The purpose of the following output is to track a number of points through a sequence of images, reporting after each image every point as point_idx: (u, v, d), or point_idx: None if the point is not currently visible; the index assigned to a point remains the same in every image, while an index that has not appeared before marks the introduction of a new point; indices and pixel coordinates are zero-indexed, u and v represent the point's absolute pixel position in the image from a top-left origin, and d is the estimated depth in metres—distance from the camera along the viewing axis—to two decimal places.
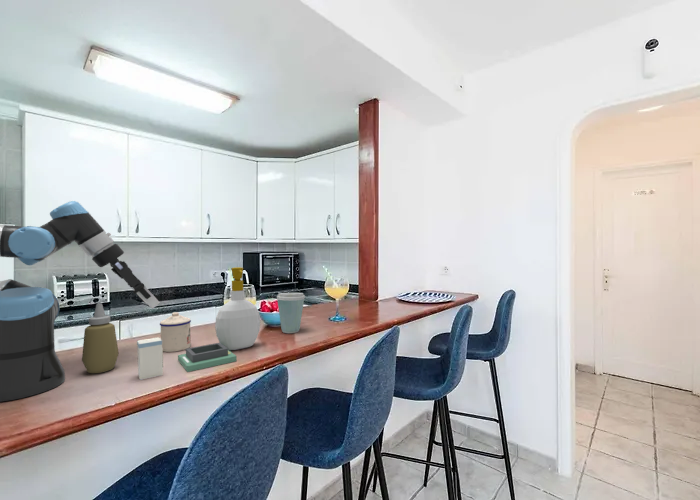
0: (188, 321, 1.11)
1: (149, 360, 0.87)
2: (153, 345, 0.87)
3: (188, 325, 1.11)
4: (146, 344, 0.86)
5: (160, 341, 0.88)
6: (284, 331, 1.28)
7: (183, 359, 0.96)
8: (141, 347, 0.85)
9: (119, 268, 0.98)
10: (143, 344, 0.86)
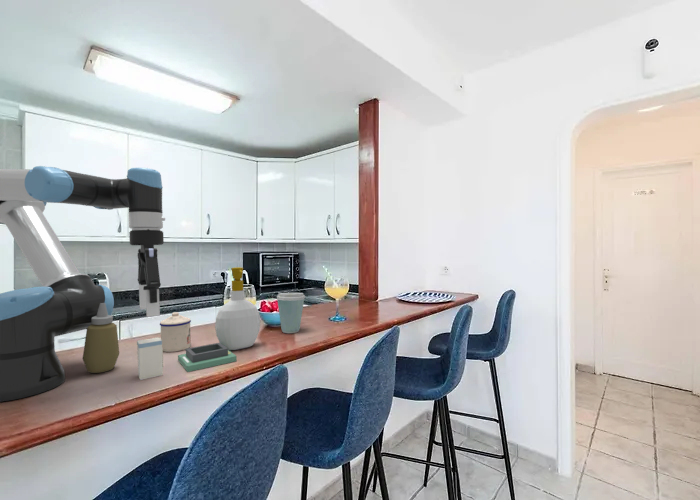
0: (188, 321, 1.11)
1: (149, 360, 0.87)
2: (153, 345, 0.87)
3: (188, 325, 1.11)
4: (146, 344, 0.86)
5: (160, 341, 0.88)
6: (284, 331, 1.28)
7: (183, 359, 0.96)
8: (141, 347, 0.85)
9: (149, 255, 0.82)
10: (143, 344, 0.86)
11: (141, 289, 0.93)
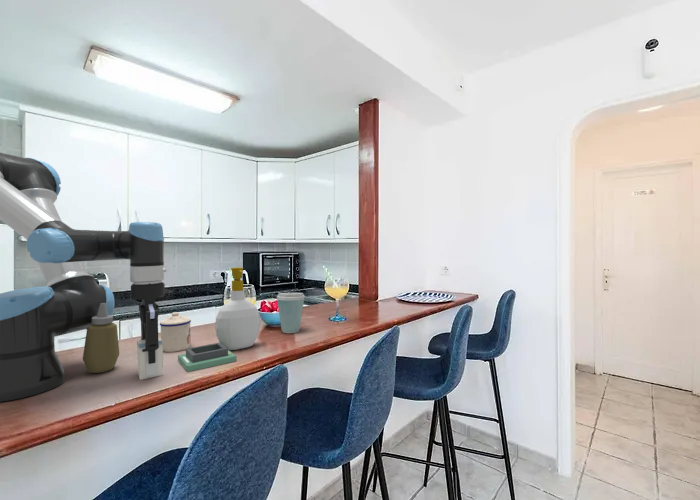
0: (188, 321, 1.11)
1: None
2: None
3: (188, 325, 1.11)
4: None
5: (160, 341, 0.88)
6: (284, 331, 1.28)
7: (183, 359, 0.96)
8: (141, 347, 0.85)
9: (150, 318, 0.83)
10: (143, 344, 0.86)
11: None
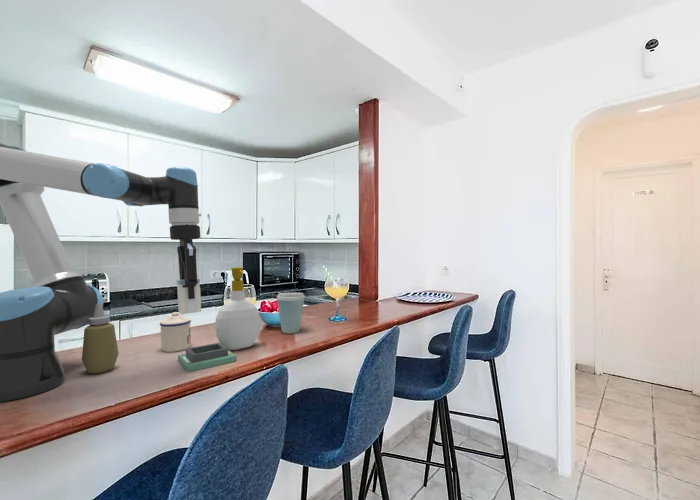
0: (188, 321, 1.11)
1: None
2: None
3: (188, 325, 1.11)
4: None
5: (198, 279, 0.94)
6: (284, 331, 1.28)
7: (183, 359, 0.96)
8: (181, 284, 0.91)
9: (189, 254, 0.89)
10: (183, 281, 0.92)
11: None
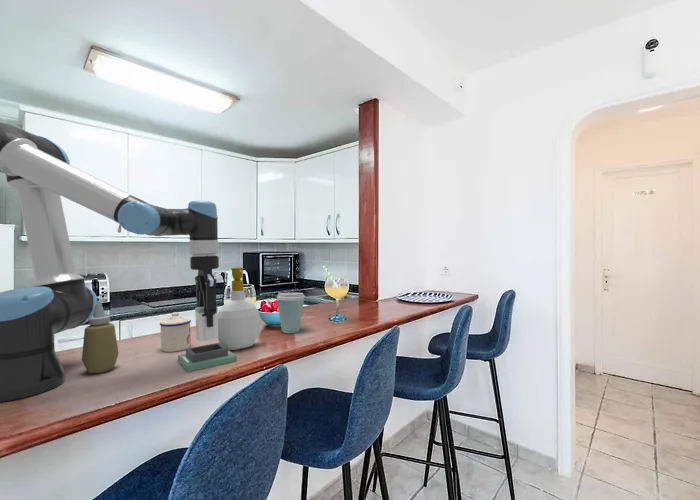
0: (188, 321, 1.11)
1: None
2: None
3: (188, 325, 1.11)
4: None
5: (216, 308, 0.98)
6: (284, 331, 1.28)
7: (183, 359, 0.96)
8: (200, 312, 0.96)
9: (209, 285, 0.93)
10: (202, 310, 0.96)
11: None
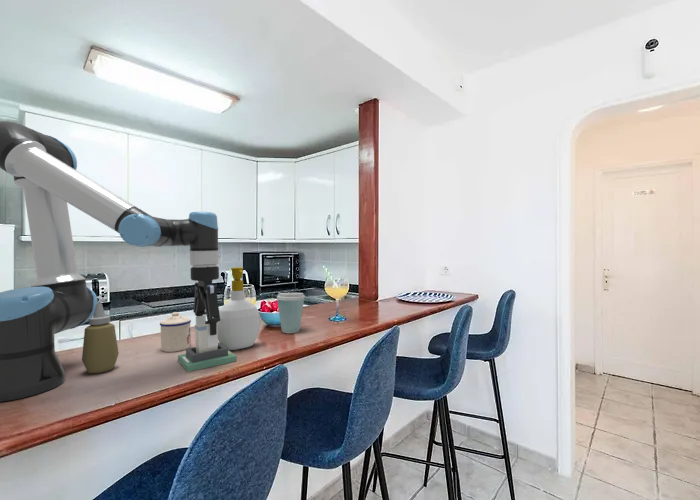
0: (188, 321, 1.11)
1: None
2: None
3: (188, 325, 1.11)
4: (204, 327, 0.96)
5: None
6: (284, 331, 1.28)
7: (183, 359, 0.96)
8: (200, 330, 0.96)
9: (210, 292, 0.93)
10: (202, 327, 0.96)
11: (198, 320, 1.03)
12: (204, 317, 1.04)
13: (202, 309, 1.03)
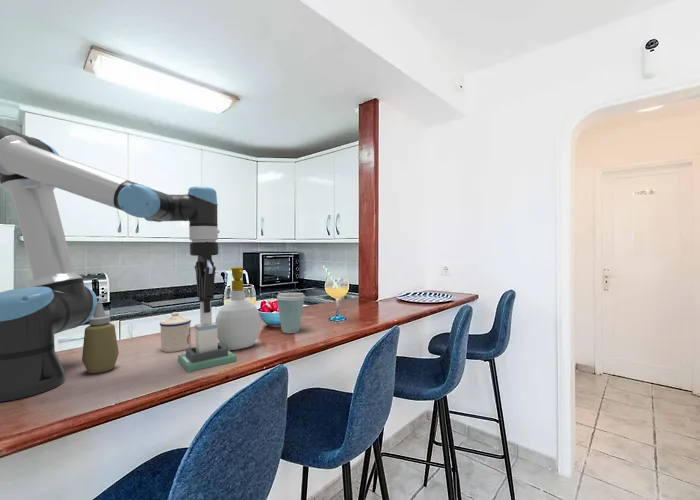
0: (188, 321, 1.11)
1: (207, 342, 0.97)
2: (210, 328, 0.97)
3: (188, 325, 1.11)
4: (204, 327, 0.96)
5: (216, 325, 0.98)
6: (284, 331, 1.28)
7: (183, 359, 0.96)
8: (200, 330, 0.96)
9: (208, 273, 0.94)
10: (202, 327, 0.96)
11: None
12: None
13: None
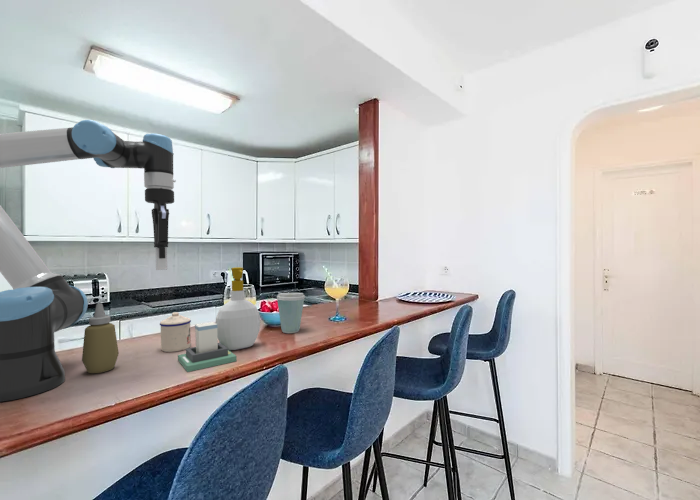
0: (188, 321, 1.11)
1: (207, 342, 0.97)
2: (210, 328, 0.97)
3: (188, 325, 1.11)
4: (204, 327, 0.96)
5: (216, 325, 0.98)
6: (284, 331, 1.28)
7: (183, 359, 0.96)
8: (200, 330, 0.96)
9: (161, 217, 0.96)
10: (202, 327, 0.96)
11: None
12: None
13: None
